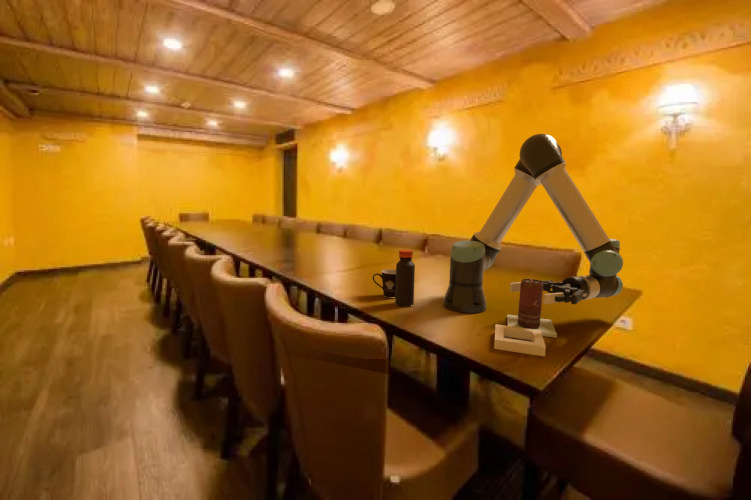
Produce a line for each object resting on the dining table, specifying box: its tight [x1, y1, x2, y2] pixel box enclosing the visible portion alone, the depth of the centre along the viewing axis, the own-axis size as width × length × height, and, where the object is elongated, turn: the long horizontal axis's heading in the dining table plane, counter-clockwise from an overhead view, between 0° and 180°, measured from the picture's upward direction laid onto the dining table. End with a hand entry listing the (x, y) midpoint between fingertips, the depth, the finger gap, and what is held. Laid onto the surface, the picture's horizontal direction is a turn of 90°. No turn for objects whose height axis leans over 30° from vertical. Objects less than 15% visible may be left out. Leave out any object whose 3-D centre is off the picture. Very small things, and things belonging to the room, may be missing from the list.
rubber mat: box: [506, 314, 558, 339], centre depth 105 cm, size 13×13×1 cm
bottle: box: [394, 249, 416, 307], centre depth 125 cm, size 7×7×20 cm
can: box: [517, 278, 544, 329], centre depth 102 cm, size 6×6×14 cm
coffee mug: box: [372, 269, 396, 298], centre depth 137 cm, size 12×9×10 cm
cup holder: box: [493, 324, 547, 358], centre depth 93 cm, size 12×12×2 cm
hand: (526, 292), depth 103 cm, fingers open, 13 cm apart
